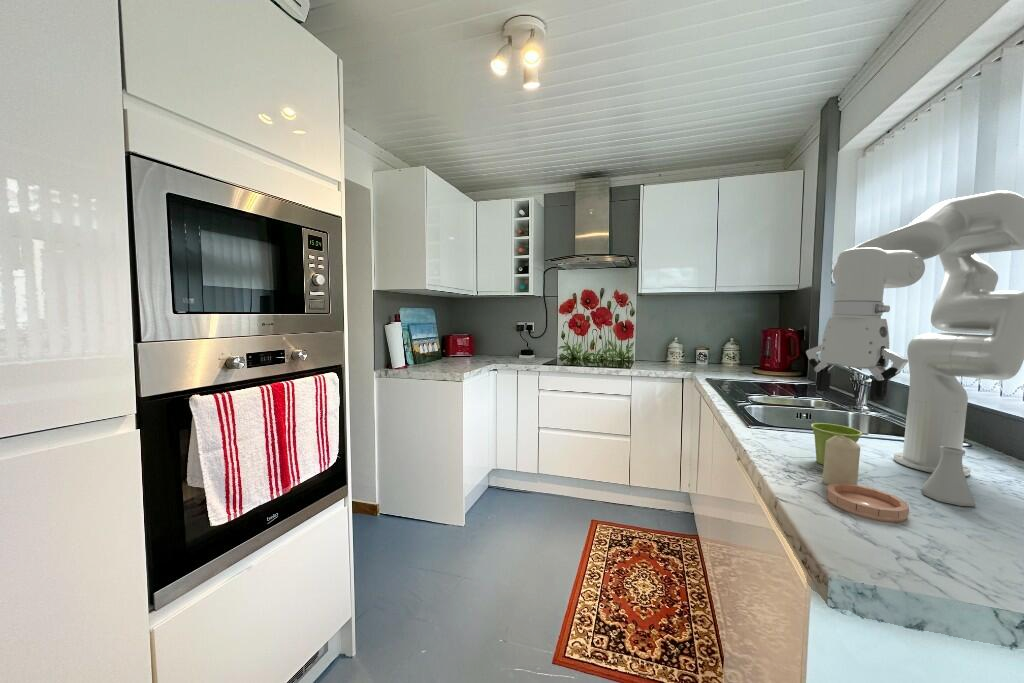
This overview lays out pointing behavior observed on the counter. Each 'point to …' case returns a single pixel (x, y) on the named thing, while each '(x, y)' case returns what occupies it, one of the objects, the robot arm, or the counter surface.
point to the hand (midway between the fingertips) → (848, 395)
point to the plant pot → (830, 436)
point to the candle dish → (867, 502)
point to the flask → (949, 480)
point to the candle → (841, 461)
